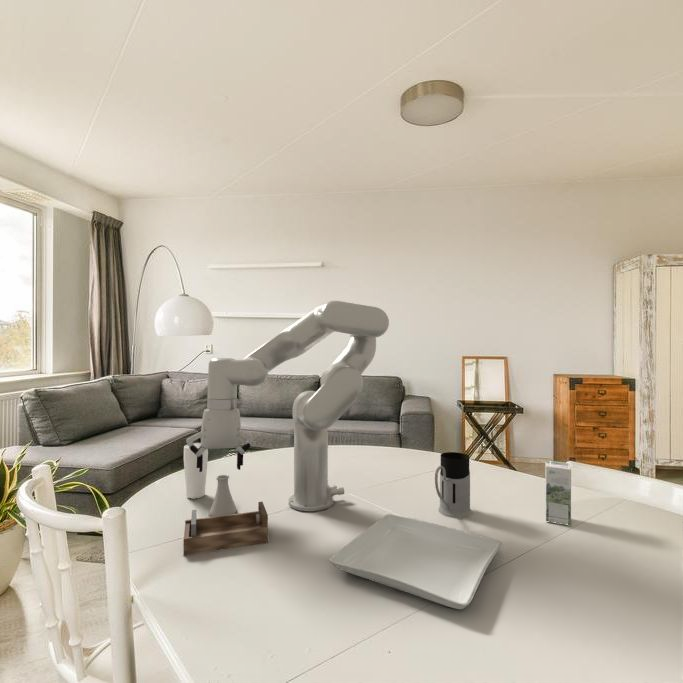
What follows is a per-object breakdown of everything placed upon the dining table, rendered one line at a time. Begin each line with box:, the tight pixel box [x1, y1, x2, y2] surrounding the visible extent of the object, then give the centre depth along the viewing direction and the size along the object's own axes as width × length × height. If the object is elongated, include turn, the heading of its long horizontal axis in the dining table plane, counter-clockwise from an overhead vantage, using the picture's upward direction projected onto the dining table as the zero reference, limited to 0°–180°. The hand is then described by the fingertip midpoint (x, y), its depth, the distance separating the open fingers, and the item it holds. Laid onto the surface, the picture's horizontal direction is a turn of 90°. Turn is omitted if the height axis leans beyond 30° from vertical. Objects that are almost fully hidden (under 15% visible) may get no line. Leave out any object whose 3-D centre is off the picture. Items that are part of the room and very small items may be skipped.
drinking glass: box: [183, 442, 209, 500], centre depth 125 cm, size 7×7×15 cm
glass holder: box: [434, 451, 473, 519], centre depth 112 cm, size 9×14×15 cm, turn 137°
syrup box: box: [544, 460, 572, 525], centre depth 108 cm, size 6×6×14 cm
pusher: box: [190, 509, 197, 537], centre depth 96 cm, size 1×8×5 cm, turn 19°
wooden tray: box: [182, 501, 269, 556], centre depth 98 cm, size 18×10×6 cm, turn 108°
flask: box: [207, 474, 238, 517], centre depth 112 cm, size 7×7×10 cm
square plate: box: [329, 513, 503, 610], centre depth 87 cm, size 27×27×4 cm
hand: (219, 469), depth 112 cm, fingers open, 9 cm apart
